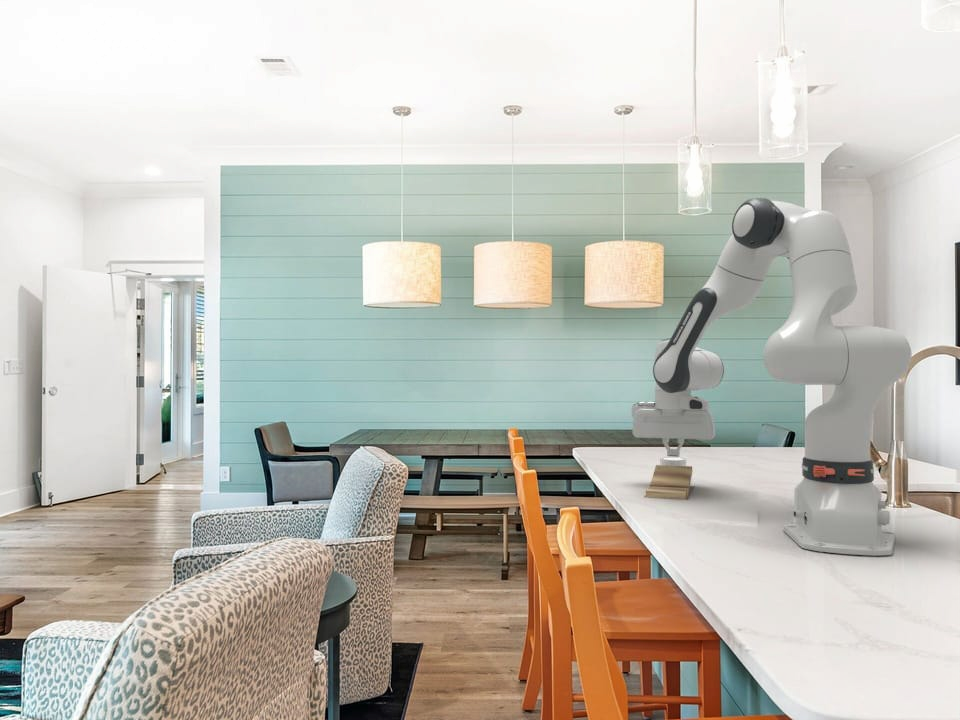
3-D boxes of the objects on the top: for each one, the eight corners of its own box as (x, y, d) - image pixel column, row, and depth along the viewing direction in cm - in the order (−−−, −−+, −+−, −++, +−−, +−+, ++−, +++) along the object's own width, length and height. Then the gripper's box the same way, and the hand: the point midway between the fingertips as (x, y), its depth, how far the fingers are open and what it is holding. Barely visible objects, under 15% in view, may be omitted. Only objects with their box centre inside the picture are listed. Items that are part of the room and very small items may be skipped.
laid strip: (685, 499, 167) (685, 491, 167) (645, 497, 170) (645, 489, 170) (688, 494, 173) (688, 487, 173) (650, 492, 177) (649, 485, 177)
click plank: (688, 493, 174) (688, 486, 173) (650, 491, 177) (649, 485, 177) (692, 471, 185) (692, 465, 184) (656, 470, 188) (655, 464, 187)
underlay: (687, 504, 167) (687, 499, 167) (643, 501, 170) (643, 497, 170) (694, 489, 185) (694, 485, 185) (655, 487, 189) (655, 483, 189)
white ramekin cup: (658, 482, 197) (658, 456, 197) (684, 483, 196) (684, 457, 196) (661, 486, 190) (661, 460, 190) (688, 487, 189) (688, 460, 189)
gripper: (629, 402, 185) (630, 456, 185) (713, 403, 178) (714, 459, 178) (633, 400, 191) (634, 453, 191) (715, 401, 184) (715, 456, 184)
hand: (673, 456), depth 184 cm, fingers closed
